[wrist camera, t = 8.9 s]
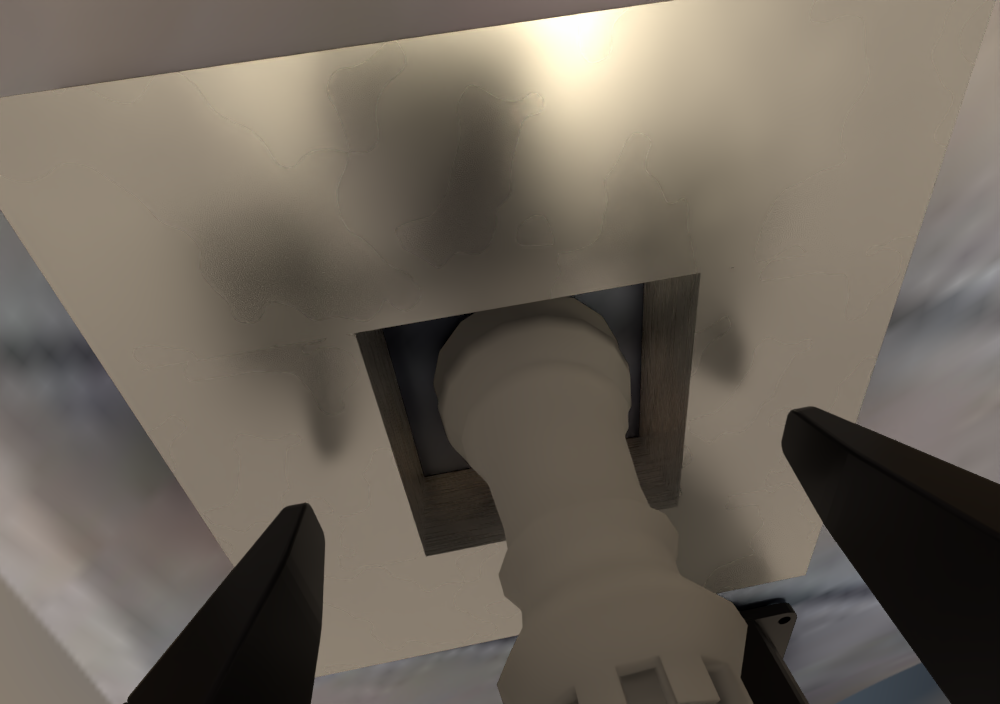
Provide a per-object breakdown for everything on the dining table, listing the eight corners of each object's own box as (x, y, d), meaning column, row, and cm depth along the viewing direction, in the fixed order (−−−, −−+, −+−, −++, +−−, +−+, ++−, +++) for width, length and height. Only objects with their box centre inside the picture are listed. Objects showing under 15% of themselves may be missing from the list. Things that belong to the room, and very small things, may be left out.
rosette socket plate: (756, 506, 17) (805, 574, 14) (321, 593, 16) (307, 679, 14) (873, -29, 9) (1011, -48, 7) (56, 89, 8) (-67, 107, 6)
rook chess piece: (647, 318, 12) (934, 666, 5) (562, 452, 14) (695, 832, 7) (476, 254, 11) (577, 620, 4) (406, 414, 13) (397, 841, 6)
